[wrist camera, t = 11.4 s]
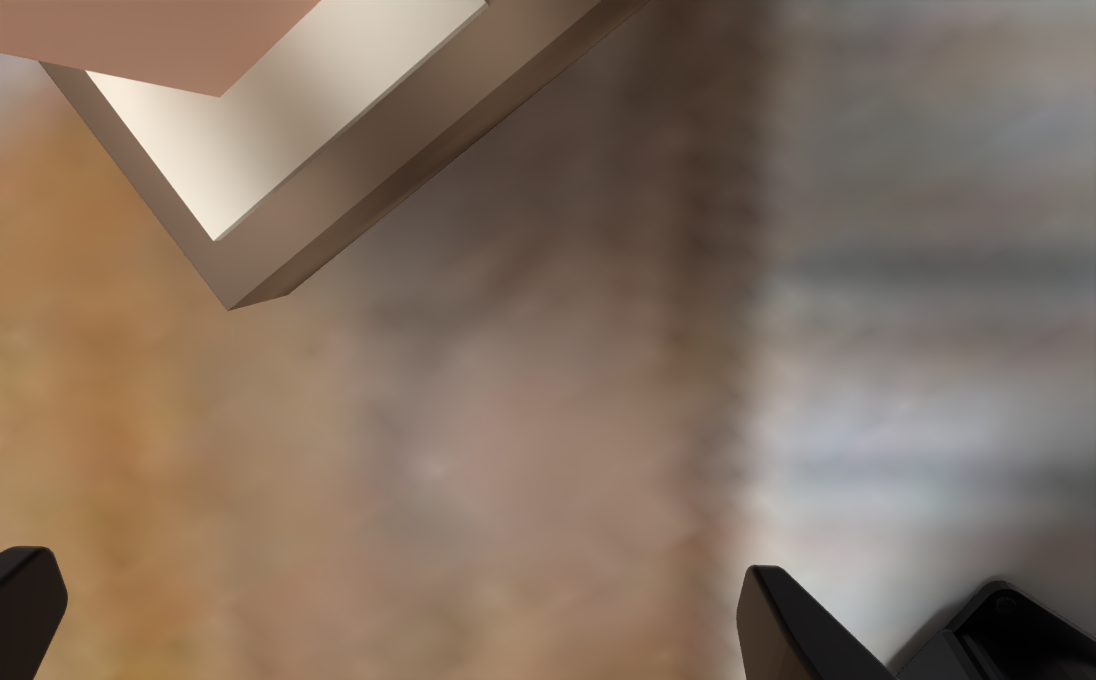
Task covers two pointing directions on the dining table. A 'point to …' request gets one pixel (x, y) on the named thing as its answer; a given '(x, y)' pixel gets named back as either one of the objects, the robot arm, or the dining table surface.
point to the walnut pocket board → (328, 126)
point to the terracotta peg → (151, 37)
